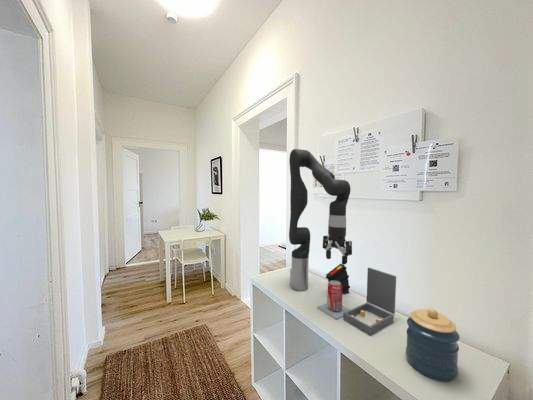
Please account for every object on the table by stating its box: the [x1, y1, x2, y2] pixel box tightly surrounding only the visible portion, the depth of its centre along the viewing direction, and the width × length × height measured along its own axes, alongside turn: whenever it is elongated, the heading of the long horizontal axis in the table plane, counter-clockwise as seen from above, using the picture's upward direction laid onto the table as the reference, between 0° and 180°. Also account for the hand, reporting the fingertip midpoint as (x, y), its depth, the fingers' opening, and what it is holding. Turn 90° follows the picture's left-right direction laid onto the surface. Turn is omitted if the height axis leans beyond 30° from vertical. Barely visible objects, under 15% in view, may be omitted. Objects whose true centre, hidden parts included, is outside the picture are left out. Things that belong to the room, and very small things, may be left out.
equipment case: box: [342, 267, 397, 337], centre depth 92 cm, size 12×17×19 cm
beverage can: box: [326, 280, 343, 311], centre depth 100 cm, size 6×6×12 cm
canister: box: [405, 308, 460, 382], centre depth 69 cm, size 13×13×18 cm
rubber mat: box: [316, 302, 351, 321], centre depth 100 cm, size 11×11×1 cm
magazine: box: [325, 263, 351, 295], centre depth 116 cm, size 4×13×15 cm, turn 114°
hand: (336, 261), depth 99 cm, fingers open, 8 cm apart
